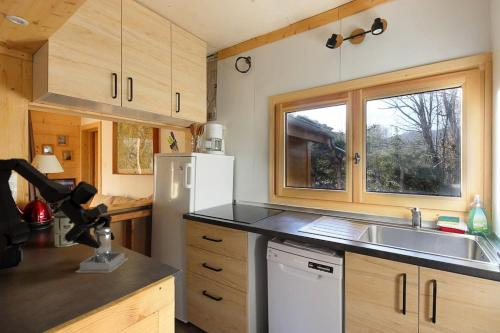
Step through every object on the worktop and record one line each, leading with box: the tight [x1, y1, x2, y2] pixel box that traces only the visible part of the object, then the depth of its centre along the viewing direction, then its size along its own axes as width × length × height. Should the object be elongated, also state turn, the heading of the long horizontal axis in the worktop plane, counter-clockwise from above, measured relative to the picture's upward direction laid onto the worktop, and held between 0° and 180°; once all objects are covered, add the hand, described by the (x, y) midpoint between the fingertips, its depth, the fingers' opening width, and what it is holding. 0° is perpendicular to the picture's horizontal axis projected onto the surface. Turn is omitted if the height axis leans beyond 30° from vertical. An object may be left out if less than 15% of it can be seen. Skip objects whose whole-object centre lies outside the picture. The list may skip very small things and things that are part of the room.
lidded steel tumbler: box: [92, 226, 113, 262], centre depth 90 cm, size 6×6×13 cm
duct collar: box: [74, 252, 129, 274], centre depth 90 cm, size 12×12×3 cm
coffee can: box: [53, 212, 80, 248], centre depth 114 cm, size 10×10×14 cm
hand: (106, 243), depth 90 cm, fingers open, 9 cm apart
